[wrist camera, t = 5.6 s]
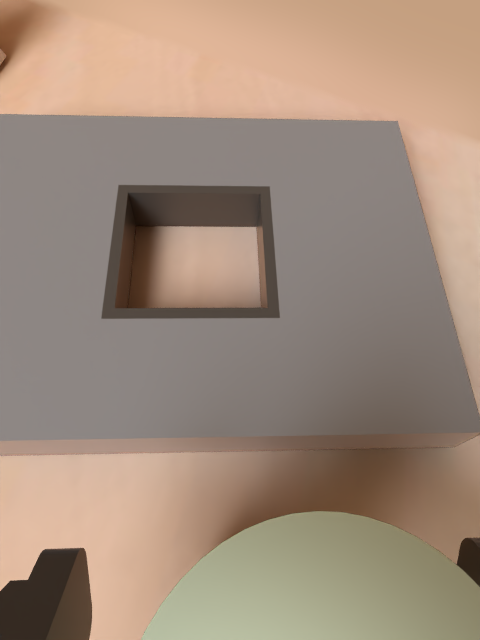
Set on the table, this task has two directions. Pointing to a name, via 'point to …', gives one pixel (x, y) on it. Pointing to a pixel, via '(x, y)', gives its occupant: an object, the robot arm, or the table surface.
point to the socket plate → (221, 323)
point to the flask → (2, 56)
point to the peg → (321, 586)
